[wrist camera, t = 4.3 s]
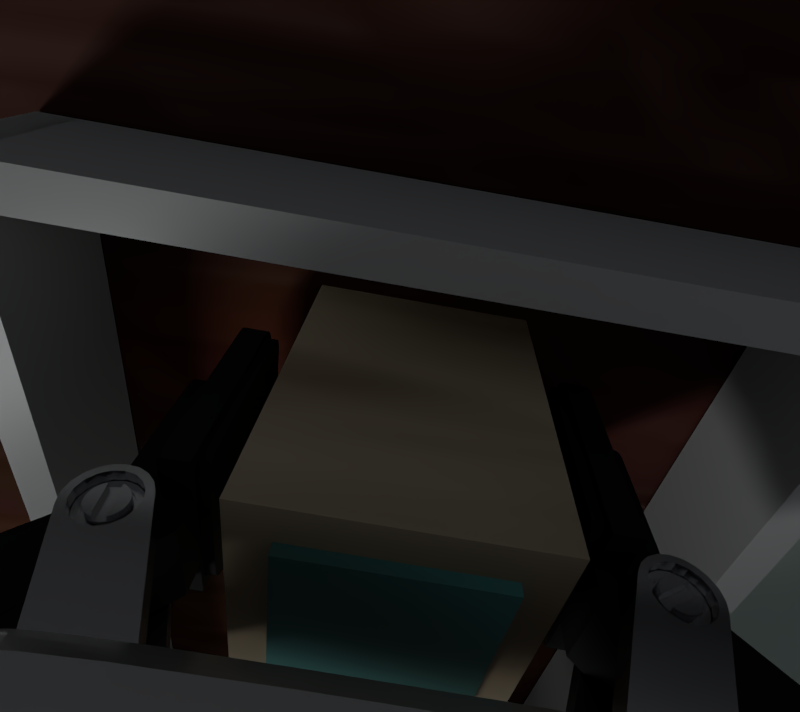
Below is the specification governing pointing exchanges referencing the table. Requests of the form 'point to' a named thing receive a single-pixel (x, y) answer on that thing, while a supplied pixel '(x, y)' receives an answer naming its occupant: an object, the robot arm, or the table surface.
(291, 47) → the table surface
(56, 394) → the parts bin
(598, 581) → the robot arm
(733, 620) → the mat
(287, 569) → the labelled block
